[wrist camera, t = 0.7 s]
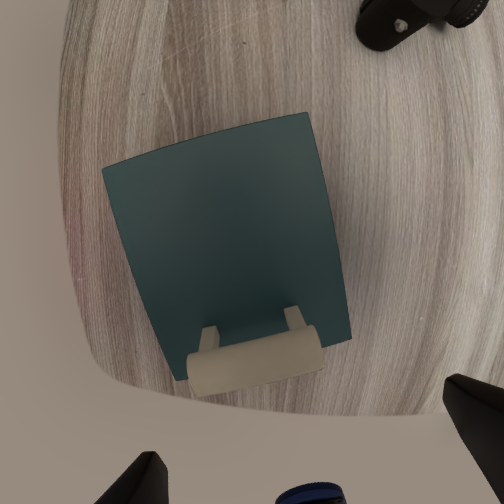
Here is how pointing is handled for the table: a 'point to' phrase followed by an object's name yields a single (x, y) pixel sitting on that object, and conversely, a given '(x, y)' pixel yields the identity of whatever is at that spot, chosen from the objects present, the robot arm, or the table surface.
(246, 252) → the lid
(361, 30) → the camera
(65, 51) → the table surface
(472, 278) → the table surface
